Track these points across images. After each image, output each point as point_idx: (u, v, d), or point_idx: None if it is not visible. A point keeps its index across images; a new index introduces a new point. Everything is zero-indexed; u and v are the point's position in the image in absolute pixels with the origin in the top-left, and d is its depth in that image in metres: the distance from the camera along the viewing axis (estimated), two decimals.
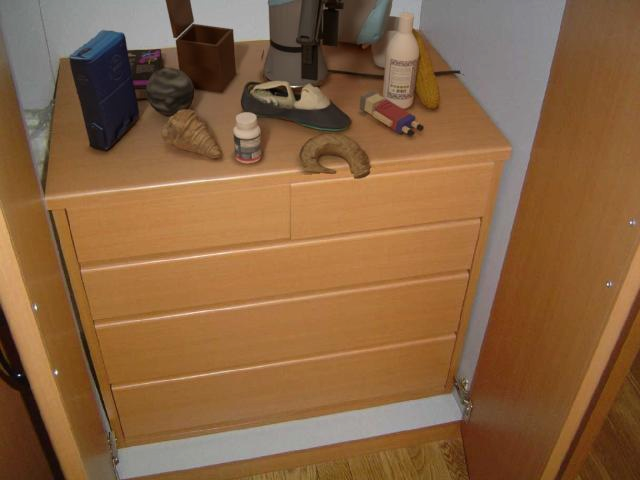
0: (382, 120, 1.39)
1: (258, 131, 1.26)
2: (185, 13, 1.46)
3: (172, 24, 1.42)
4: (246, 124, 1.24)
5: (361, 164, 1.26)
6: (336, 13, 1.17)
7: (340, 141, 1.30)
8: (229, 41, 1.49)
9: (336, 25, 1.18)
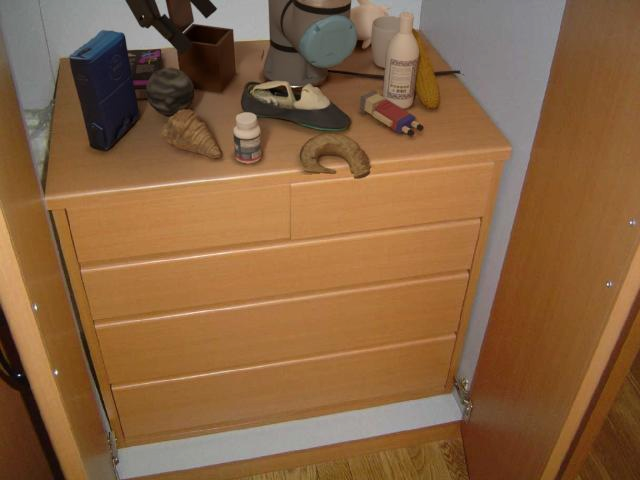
0: (382, 120, 1.39)
1: (258, 131, 1.26)
2: (185, 13, 1.46)
3: None
4: (246, 124, 1.24)
5: (361, 164, 1.26)
6: None
7: (340, 141, 1.30)
8: (229, 41, 1.49)
9: None
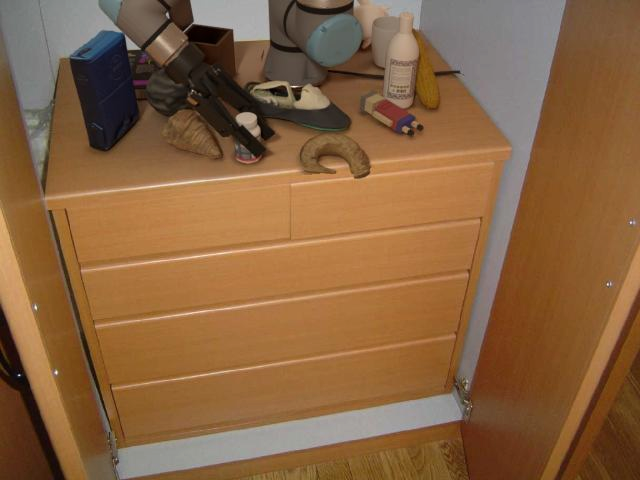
0: (382, 120, 1.39)
1: (258, 131, 1.26)
2: (185, 13, 1.46)
3: None
4: (246, 124, 1.24)
5: (361, 164, 1.26)
6: (250, 112, 1.27)
7: (340, 141, 1.30)
8: (229, 41, 1.49)
9: (259, 120, 1.28)
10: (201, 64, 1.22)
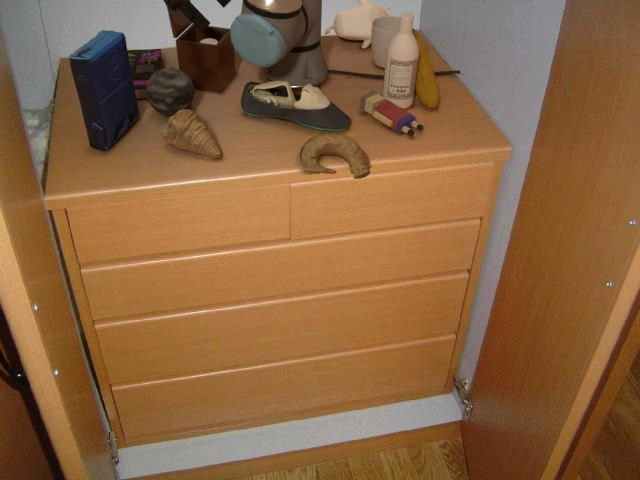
0: (382, 120, 1.39)
1: None
2: None
3: (172, 24, 1.42)
4: None
5: (361, 164, 1.26)
6: None
7: (340, 141, 1.30)
8: (229, 41, 1.49)
9: None
10: None
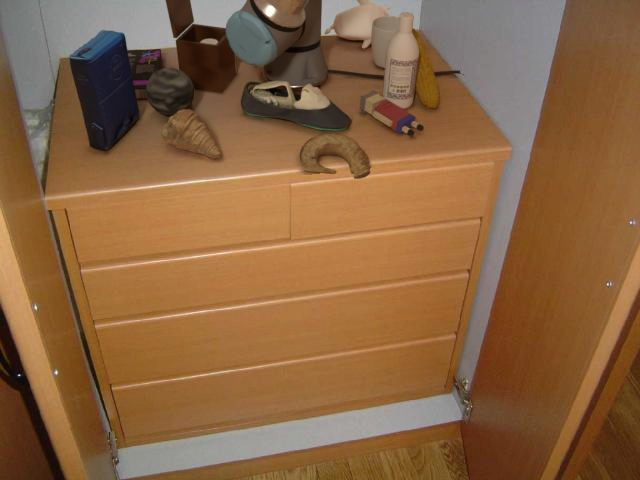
0: (382, 120, 1.39)
1: None
2: (185, 13, 1.46)
3: (172, 24, 1.42)
4: None
5: (361, 164, 1.26)
6: None
7: (340, 141, 1.30)
8: None
9: None
10: None
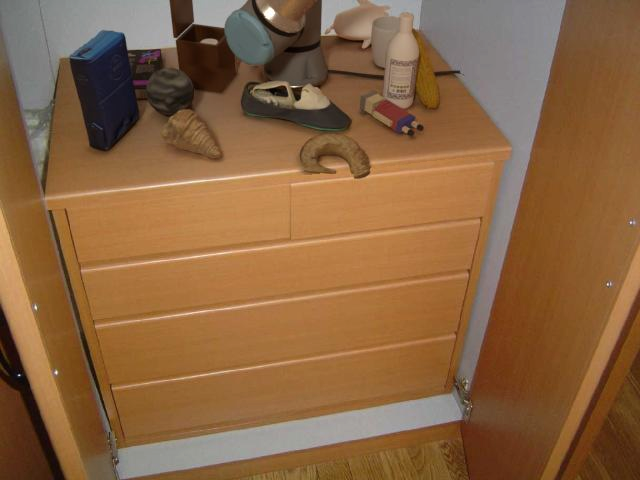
0: (382, 120, 1.39)
1: None
2: (186, 13, 1.46)
3: (173, 24, 1.42)
4: None
5: (361, 164, 1.26)
6: None
7: (340, 141, 1.30)
8: None
9: None
10: None
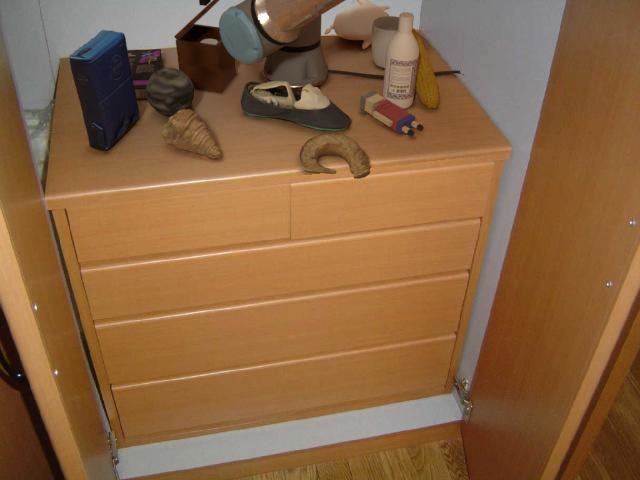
0: (382, 120, 1.39)
1: None
2: None
3: (183, 30, 1.42)
4: None
5: (361, 164, 1.26)
6: None
7: (340, 141, 1.30)
8: None
9: None
10: None
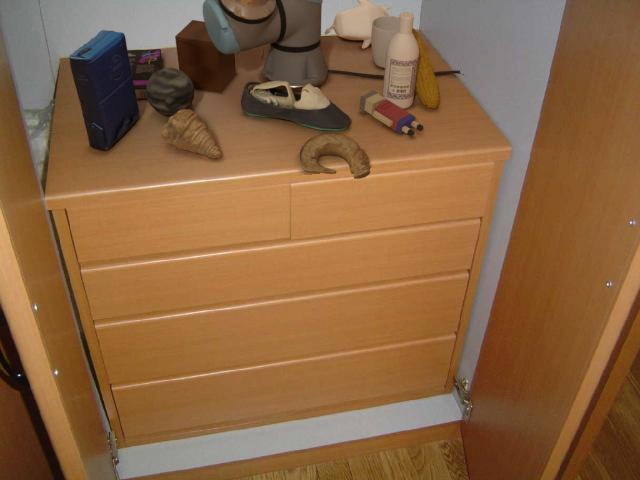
0: (382, 120, 1.39)
1: None
2: None
3: (188, 40, 1.43)
4: None
5: (361, 164, 1.26)
6: None
7: (340, 141, 1.30)
8: None
9: None
10: None
